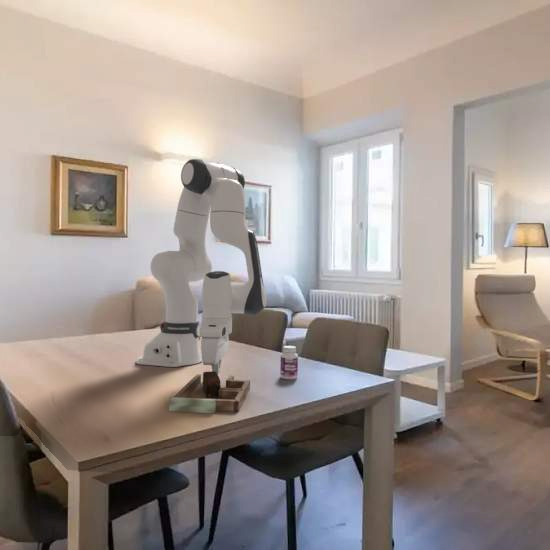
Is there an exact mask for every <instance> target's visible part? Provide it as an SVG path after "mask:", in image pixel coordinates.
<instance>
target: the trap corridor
mask: <svg viewBox="0 0 550 550" xmlns="http://www.w3.org/2000/svg"><path fill="white" fill-rule="evenodd" d="M201 383H202V374H199V373H198V374H196V375H194V376H193V378H191V379H190V380H189V381H188V382H187V383H186V384H185V385H184V386H183V387H181V389H180V390H178V392H177V393H176V394H174V396H172V397H171V396H170V398H169V399H168V412H177V413H178V412H179V413H183V412H184V413H198V414H199V413H200V414H201V413H202V414H203V413H204V414H216V412H232V413H233V412H234V413H235V412H237V413H238V412H239V411H240V410H241V408H242V406H243V404H244V401H245V400H246V398H247V396H248V394H249V392H250V390H251V381H250V380H248V379H247V380H246V379H245V380H243V379H242V380H241V379H235V375H229V376H228V377H227V379H226V380H225V387H221V388H220V389H219V391H218V397H217V398H195V397H189V396H191V394H193V392H194V391H195V390H196V389H197V388H198V387H199V385H201Z"/></svg>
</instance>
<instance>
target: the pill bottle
mask: <svg viewBox="0 0 550 550" xmlns="http://www.w3.org/2000/svg"><path fill="white" fill-rule="evenodd" d="M282 351H283V352H282V353H281V354H280V366H279V367H280V371H279V372H280V373H279V377H280V378H281V379H284V380H296V379H297V378H298V370H299V355H298V353H297V347H296V346H295V345H294V346H293V345H284V346H282Z"/></svg>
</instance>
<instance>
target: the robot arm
mask: <svg viewBox="0 0 550 550" xmlns="http://www.w3.org/2000/svg"><path fill="white" fill-rule="evenodd" d="M245 179H246V178H245V176H244V175H243V173H242V172H241V171H239V170H238V169H236V168H234V167H230V166H227V165H225V164H222V163H220V162H212V161H208V160H203V159H200V158H193V159H188V160H187V161H186V162H185V163H184V164H183V166H182V169H181V173H180V180H181V183H182V186H183V188H182V191H181V194H180V196H179V201H178V204H177V207H176V214H175V218H174V223H173V229H172V230H173V233H174V235H175V237H176V238H177V239H178V243H179V244H178V245H179V250H166V251H162V252H158V253H156V254H155V255H154V256H153V257H152V259H151V262H150V272H151V275H152V276H153V278H154V279H155V280H156V281H157V282H158V283H159V284H160V286H161V289H162V291H163V296H164V300H165V321H163V322H162V323H161V324H159V327H158V328H159V329H160V332H159V333H157V334H156V335H155V336H154V337H153V338H151V339H150V340H149V341H148V342H147V343H146V344H145V345H144V348H143V353H142V355H141V356H139V357H138V358H136V362H135V363H136V364H137V365H143V366H144V365H146V366H157V367H158V366H159V367H166V368H167V367H168V368H178V367H183V366H190V365H196V364H199V363H201V362H202V364H203V365H204V366H211V369H212V370H211V371H215V372H217V375H218V376H219V374H220V373H221V365H222V361H223V360H222V358H224V357H225V355H226V354H228V352H229V348H230V347H229V346H230V345H229V344H230V343H229V342H230V341H229V334H232V331H233V330H232V329H233V315H232V314H241V315H242V314H244V315H250V316H257V315H259V314H261V312H262V311H264V310H265V308H266V305H267V293H266V290H265V285H264V280H263V274H262V273H263V272H262V266H261V259H260V254H259V253H260V252H259V247H258V241H257V237H256V234H255V233H254V231H252V230H250V229H249V227H248V225H247V221H246V199H245V192H244V189H245V185H246V184H245V183H246V182H245V181H246V180H245ZM208 223H209V226H210V230H211V232H212V234H213V236H214V237H215V238H217V240H219V241H221V242H223V243H225V244H227V245H229V246H233V247H235V248H236V249H239V250H240V251H241V252H242V253H243V254H244V258H245V263H246V264H245V265H246V271H247V276H248V280H247V281H245V282H238V281H237V282H233V281H232V279H231V274H230V273H229V272H227V271H220V270H217V271H212V269H213V268H212V267H213V266H212V265H213V264H212V260H211V258H210V257H209V256H208V254H207V249H206V248H207V247H206V234H207V228H208ZM202 280H203V282H202V289H201V290H202V291H201V304H202V313H201V325H200V322H199V301H198V298H197V296H195V295H194V294H193V291H191V287H190V283H191V282H192V283H196V282H199V281H202ZM199 329H200V330H199ZM198 337H200V340H198ZM199 341H200V343H199ZM200 349H201V350H200Z"/></svg>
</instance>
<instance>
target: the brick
mask: <svg viewBox="0 0 550 550" xmlns="http://www.w3.org/2000/svg"><path fill="white" fill-rule="evenodd" d="M202 385H203V387H202V388H203V393H204V395H205V397H206V399H211V398H212V397H214V398H218V391H219V389H220V388H222V386H221V379H220V377H219V374H218V375H217V372H215V371H212V370H211V371H203V372H202Z"/></svg>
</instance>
